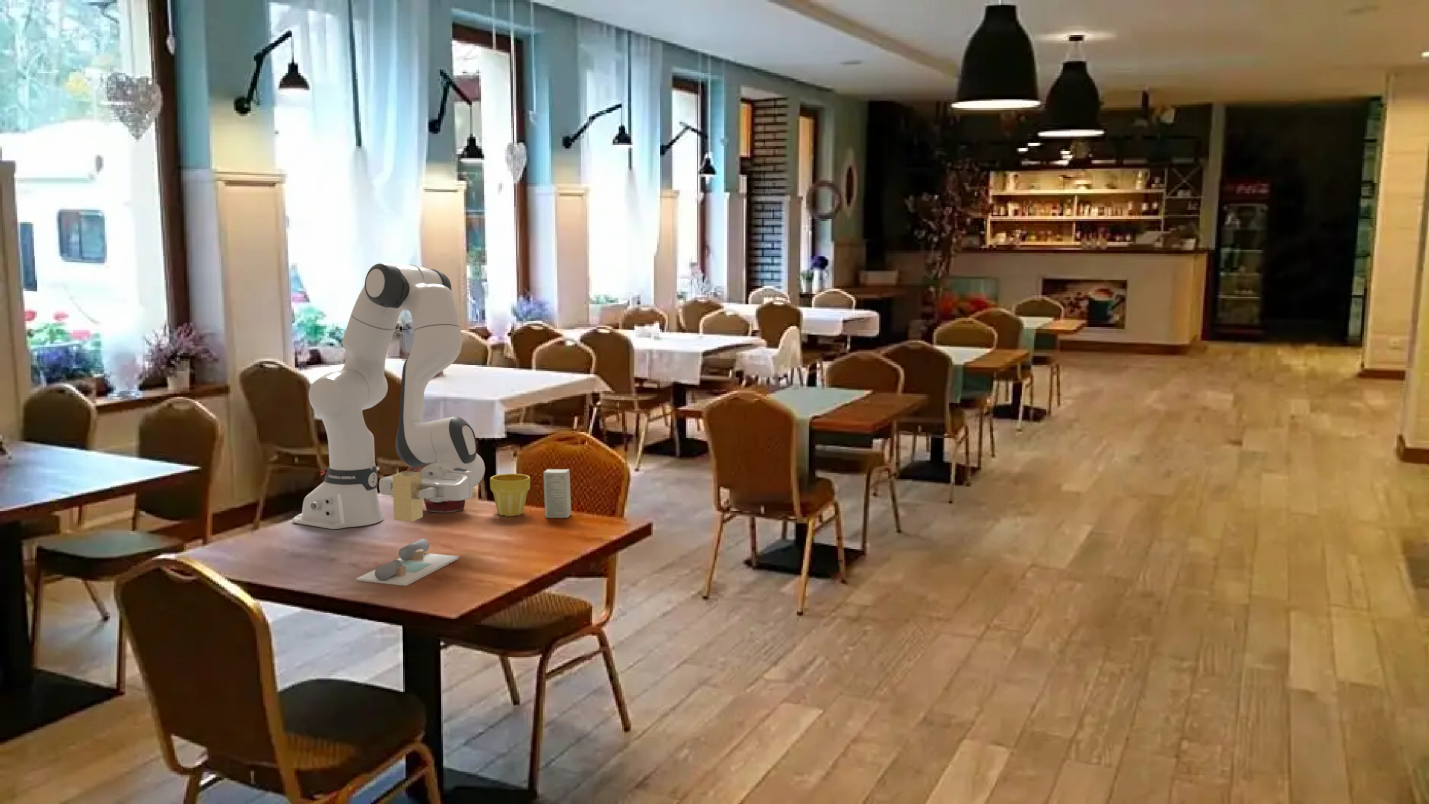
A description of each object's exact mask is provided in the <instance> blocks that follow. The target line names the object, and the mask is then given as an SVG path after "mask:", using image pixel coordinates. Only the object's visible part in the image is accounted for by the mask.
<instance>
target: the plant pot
mask: <svg viewBox="0 0 1429 804" xmlns="http://www.w3.org/2000/svg"><path fill="white" fill-rule="evenodd" d="M489 487H490V491H491V492H492V494H493V499H494V503H495V507H496V513H497V515H499V514H501V515H500V516H502V515H505V516H504V517H517V516H521V515H523V514H524V511H525V505H526V501H527V497H528V492H529V490H530V489H531V477H530V475H527V474H522V473H501V474H495V475H493V476H491V477H490V478H489ZM520 514H521V515H520ZM516 515H517V516H516Z"/></svg>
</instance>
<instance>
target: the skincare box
mask: <svg viewBox="0 0 1429 804" xmlns="http://www.w3.org/2000/svg"><path fill="white" fill-rule="evenodd" d="M570 473H571V472H570V469H569V468H567V469H566V468H565V469H564V468H561V469H560V468H555V469H554V468H547V469H546V470H544V471H543V473H542V474H543V495H544V499H543V500H544V517H545V518H551V519H553V518H555V519H556V518H557V519H564V518H565V519H567V518H569V517H570V516H571V515H572V502H571V501H572V499H571V478H570V477H571V474H570Z"/></svg>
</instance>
